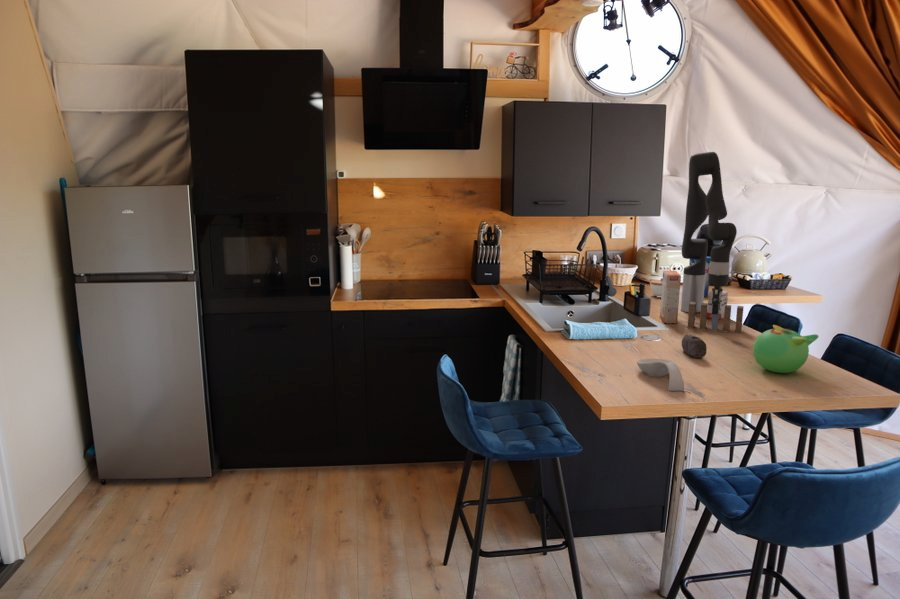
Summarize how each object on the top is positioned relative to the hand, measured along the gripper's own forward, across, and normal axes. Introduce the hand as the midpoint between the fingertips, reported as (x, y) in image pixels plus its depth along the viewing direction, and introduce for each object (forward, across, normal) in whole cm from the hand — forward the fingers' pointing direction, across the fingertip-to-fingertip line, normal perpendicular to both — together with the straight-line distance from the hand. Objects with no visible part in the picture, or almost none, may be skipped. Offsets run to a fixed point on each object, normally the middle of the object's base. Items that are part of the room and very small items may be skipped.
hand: (715, 312), depth 265 cm
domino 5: (+7, 0, +9) cm, 11 cm away
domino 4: (+7, 0, +4) cm, 8 cm away
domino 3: (+7, 0, 0) cm, 7 cm away
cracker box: (+7, -9, -19) cm, 22 cm away
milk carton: (+7, -75, -13) cm, 77 cm away
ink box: (+7, -22, -1) cm, 24 cm away
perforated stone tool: (+8, +43, -4) cm, 44 cm away
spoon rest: (+8, +76, -10) cm, 77 cm away
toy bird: (+7, +52, +23) cm, 57 cm away
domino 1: (+7, 0, -9) cm, 11 cm away
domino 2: (+7, 0, -4) cm, 8 cm away
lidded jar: (+7, -63, -30) cm, 70 cm away
